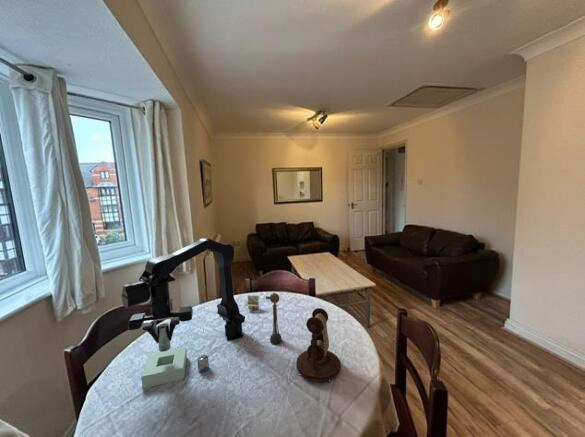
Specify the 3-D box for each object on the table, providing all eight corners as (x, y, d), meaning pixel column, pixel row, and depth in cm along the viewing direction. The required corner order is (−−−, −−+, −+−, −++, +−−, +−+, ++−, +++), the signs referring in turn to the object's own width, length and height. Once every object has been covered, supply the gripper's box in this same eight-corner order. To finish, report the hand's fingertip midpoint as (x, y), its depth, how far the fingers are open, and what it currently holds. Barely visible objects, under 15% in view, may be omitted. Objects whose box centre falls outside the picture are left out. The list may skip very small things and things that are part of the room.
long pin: (171, 344, 91) (169, 322, 90) (169, 350, 87) (167, 327, 86) (160, 346, 89) (158, 324, 89) (158, 352, 86) (156, 329, 85)
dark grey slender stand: (265, 343, 104) (264, 294, 102) (269, 337, 108) (267, 290, 106) (280, 345, 103) (278, 296, 100) (283, 338, 107) (281, 291, 105)
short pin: (208, 364, 92) (208, 354, 92) (208, 371, 89) (208, 360, 88) (198, 367, 91) (197, 356, 91) (197, 373, 88) (197, 362, 87)
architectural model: (257, 312, 131) (257, 298, 130) (244, 312, 132) (243, 298, 131) (259, 309, 134) (258, 295, 134) (246, 309, 135) (245, 295, 134)
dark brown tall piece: (335, 390, 79) (335, 327, 77) (290, 379, 84) (288, 319, 82) (343, 360, 93) (343, 305, 91) (304, 352, 98) (303, 300, 96)
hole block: (186, 357, 97) (186, 346, 96) (183, 379, 85) (183, 367, 85) (150, 364, 93) (149, 353, 93) (142, 388, 82) (141, 376, 81)
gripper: (192, 284, 97) (195, 324, 98) (134, 292, 91) (139, 334, 93) (190, 296, 86) (193, 341, 88) (125, 305, 81) (130, 352, 82)
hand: (164, 341), depth 88 cm, fingers closed on long pin, 3 cm apart
